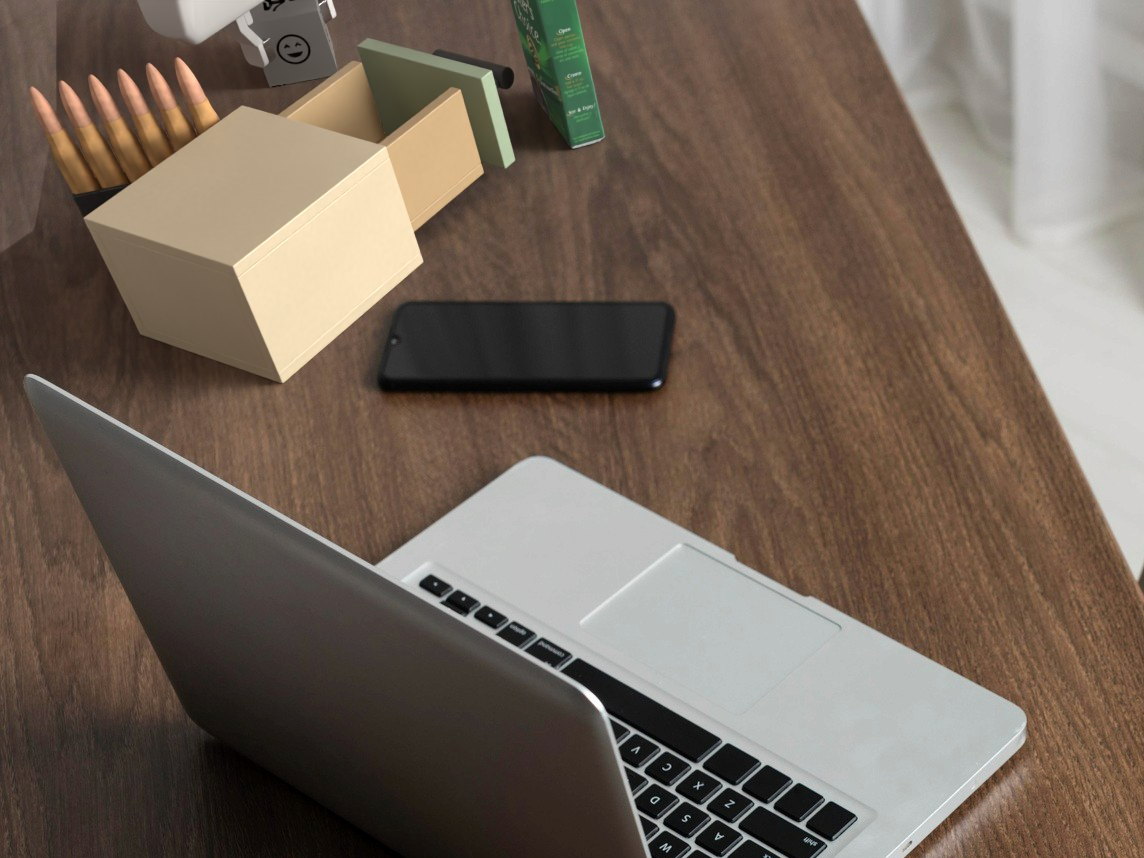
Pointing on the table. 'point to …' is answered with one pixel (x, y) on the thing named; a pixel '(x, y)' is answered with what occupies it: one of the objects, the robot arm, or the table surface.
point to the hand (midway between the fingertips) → (293, 41)
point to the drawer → (418, 117)
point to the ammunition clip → (120, 133)
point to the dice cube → (294, 40)
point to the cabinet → (258, 241)
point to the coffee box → (559, 67)
